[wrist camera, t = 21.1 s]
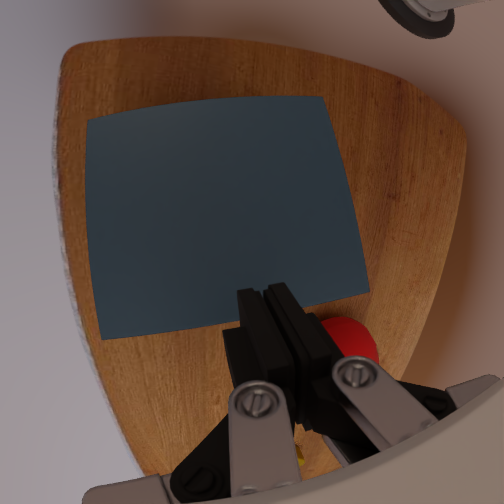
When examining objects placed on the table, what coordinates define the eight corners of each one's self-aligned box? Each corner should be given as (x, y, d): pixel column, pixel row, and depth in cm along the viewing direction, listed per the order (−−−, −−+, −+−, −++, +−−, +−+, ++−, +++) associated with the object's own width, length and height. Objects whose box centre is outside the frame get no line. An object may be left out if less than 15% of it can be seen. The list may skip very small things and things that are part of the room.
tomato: (297, 301, 39) (335, 355, 29) (365, 304, 42) (409, 348, 32) (275, 369, 43) (300, 425, 33) (339, 365, 46) (370, 412, 36)
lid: (363, 291, 17) (370, 291, 16) (105, 337, 14) (101, 340, 13) (318, 102, 18) (322, 96, 17) (91, 126, 15) (87, 119, 15)
